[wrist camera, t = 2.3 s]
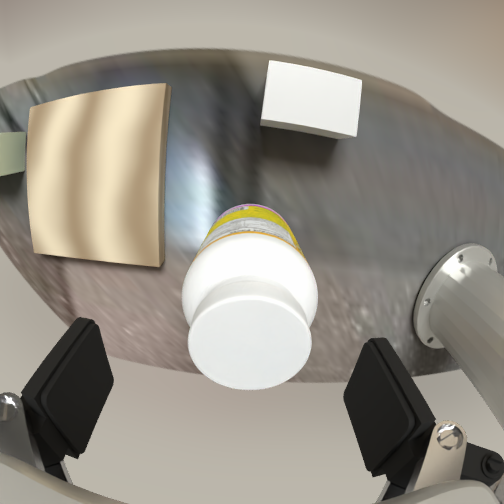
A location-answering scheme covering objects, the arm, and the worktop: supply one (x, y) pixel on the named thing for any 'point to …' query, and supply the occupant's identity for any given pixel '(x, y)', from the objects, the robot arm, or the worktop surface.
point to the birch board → (100, 175)
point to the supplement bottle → (249, 301)
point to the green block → (12, 152)
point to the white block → (311, 101)
